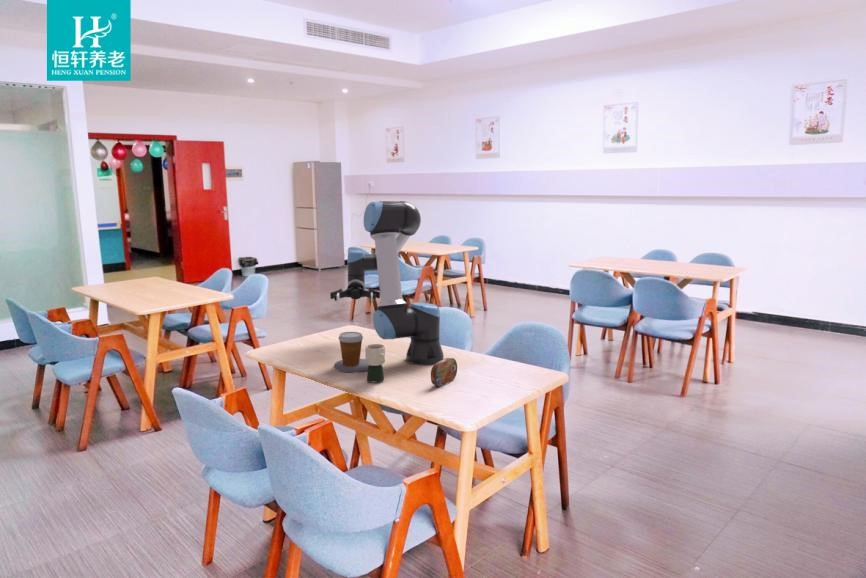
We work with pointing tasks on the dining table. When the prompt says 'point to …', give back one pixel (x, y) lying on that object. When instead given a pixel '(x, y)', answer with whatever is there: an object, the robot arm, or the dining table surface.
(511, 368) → the dining table surface
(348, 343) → the disposable coffee cup
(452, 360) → the tin
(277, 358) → the dining table surface
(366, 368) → the mat
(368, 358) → the character mug
